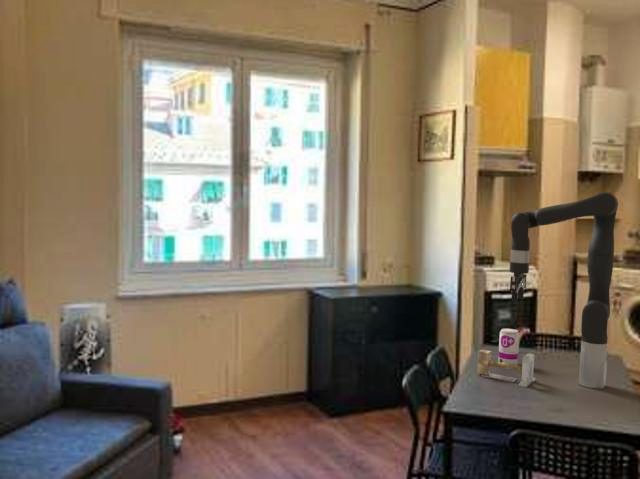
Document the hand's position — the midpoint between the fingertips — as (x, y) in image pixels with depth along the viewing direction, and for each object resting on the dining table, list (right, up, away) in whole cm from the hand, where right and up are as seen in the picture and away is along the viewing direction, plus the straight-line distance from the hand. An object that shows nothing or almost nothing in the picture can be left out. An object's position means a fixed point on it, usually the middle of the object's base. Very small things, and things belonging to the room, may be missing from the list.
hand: (517, 300), depth 263 cm
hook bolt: (-9, -30, -7) cm, 32 cm away
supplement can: (+1, -29, +15) cm, 33 cm away
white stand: (-7, -30, -9) cm, 32 cm away
